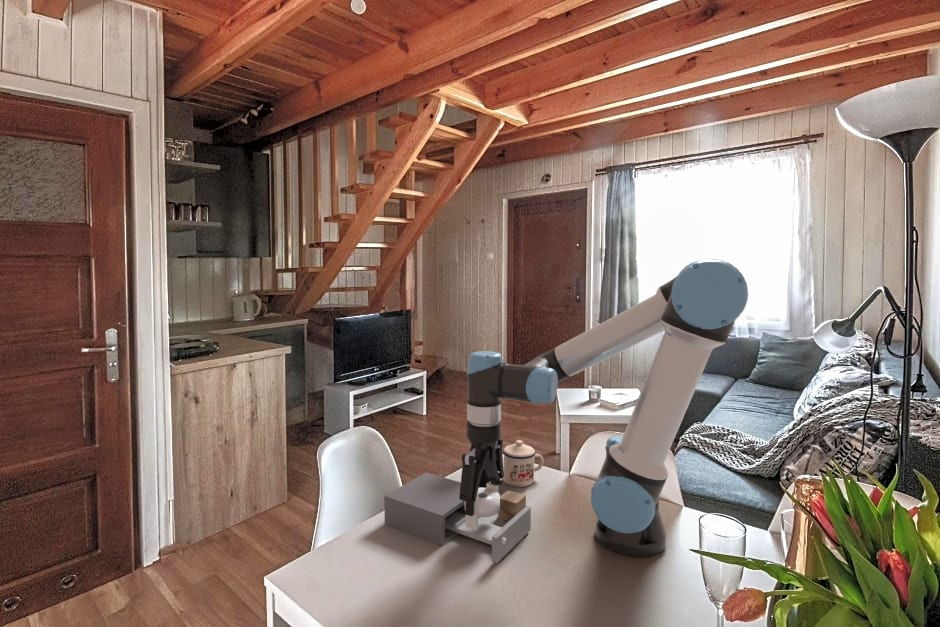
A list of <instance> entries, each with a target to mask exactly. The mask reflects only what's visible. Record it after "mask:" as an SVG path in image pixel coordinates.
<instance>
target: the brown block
mask: <svg viewBox="0 0 940 627" xmlns="http://www.w3.org/2000/svg"><path fill="white" fill-rule="evenodd" d="M526 506H527V495H526V494H524V493H520V492H516V491H512V490H507V491H505V492H504V493H503V494H502V495H500V511H499V512H498V513H497V518H499V519H501V520H504V521H508V522H509V521H510V520H511V519H512V518H513V517H514V516H516V515H517V514H518V513H519V512H520V511H521V510H522V509H523V508H525V507H526Z"/></svg>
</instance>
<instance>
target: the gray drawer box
mask: <svg viewBox="0 0 940 627" xmlns="http://www.w3.org/2000/svg"><path fill="white" fill-rule="evenodd" d="M460 485H461V481H459V480H458V481H457V480H454V479H450V478H448V477H444V476H440V475H437V474H434V473H430V472H424V473H422V474H420V475H418V476H417V477H415V478H413V479H412V480H410V481H408V482H406V483H405V484H403V485H401V486H399V487H398V488H396V489H394V490H392V491H391V492H389V493H387V494H385V495H384V496H383V497H384V501H383V502H384V504H383V506H384V508H383V509H384V525H386V526H388V527H392V528H394V529H397V530H399V531H403V532H404V533H407V534H411V535H412V536H415V537H417V538H420V539H423V540H426V541H428V542H431V543H433V544H436V545H439V546H440V547H444V546H445V545H446V544H448V543H449V541H451V540H452V539H454V538H455V537H456V536H457V535H459V533H457V532H454V531H451V530H448V529H445V520H446V519H447V518H449V517H450V516H451V515H453V514H454V513H456V512H457V513H460V514H463V515H466V511H465V509H464V501H462V500H460V499H459V495H460ZM479 518H480V517H478V519H479Z"/></svg>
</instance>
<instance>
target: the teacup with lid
mask: <svg viewBox="0 0 940 627" xmlns="http://www.w3.org/2000/svg"><path fill="white" fill-rule="evenodd" d="M502 454H503V470H504V478H503V482H505V483H506V484H507V485H509V486H512V487H518V488H523V487H527V486H530V485H532V484H533V483H534V482H535V472H537V471H540V470H541V469H542V468H543V466H544V462H545V461H544V460H545V459H544V457H543V455H541V454H539V453H536V451H535V449H534V448H533V447H532V446H531V445H527V444H525V443H524V442H523V441H522V440H515V443H513V444H510V445H509V444H508V445H506V446H505V447H504V448H503V449H502ZM535 458H540V459H539V460H540V462H539V464H538V466H536V467H535Z"/></svg>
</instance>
